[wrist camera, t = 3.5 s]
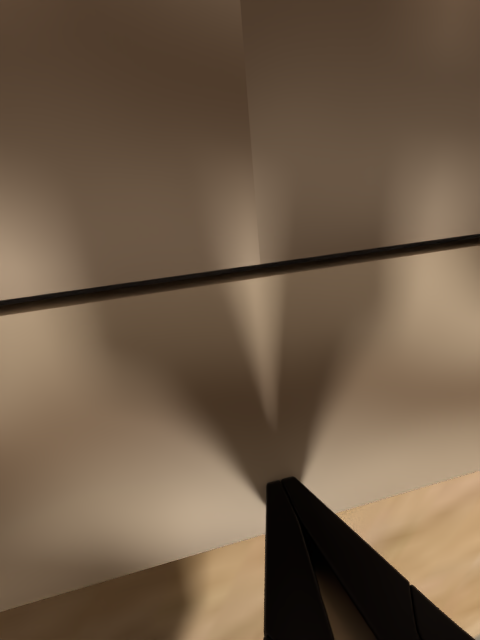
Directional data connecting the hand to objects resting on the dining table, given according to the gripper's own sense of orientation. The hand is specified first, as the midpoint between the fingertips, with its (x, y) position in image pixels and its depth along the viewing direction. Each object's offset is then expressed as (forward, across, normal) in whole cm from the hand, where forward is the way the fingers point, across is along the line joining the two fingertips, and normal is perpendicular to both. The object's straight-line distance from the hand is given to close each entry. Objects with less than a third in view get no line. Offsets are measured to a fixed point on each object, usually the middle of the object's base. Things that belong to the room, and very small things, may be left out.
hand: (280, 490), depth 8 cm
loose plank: (+2, 0, -2) cm, 3 cm away
